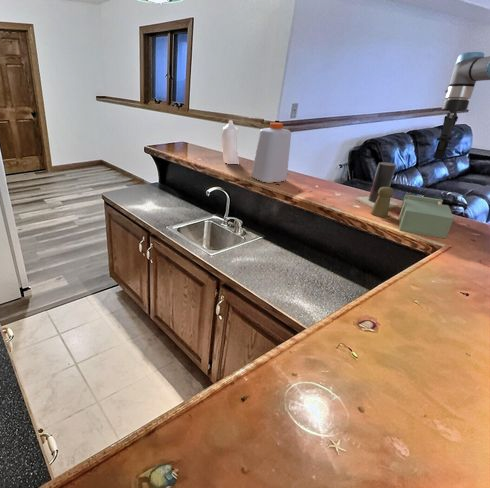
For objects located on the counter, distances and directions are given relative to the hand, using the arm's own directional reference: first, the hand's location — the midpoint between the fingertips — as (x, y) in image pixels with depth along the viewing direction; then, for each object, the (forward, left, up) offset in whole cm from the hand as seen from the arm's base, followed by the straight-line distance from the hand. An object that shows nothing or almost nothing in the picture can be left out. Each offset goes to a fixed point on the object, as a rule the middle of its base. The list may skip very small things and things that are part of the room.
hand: (438, 157), depth 137 cm
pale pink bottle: (+85, +55, -21) cm, 103 cm away
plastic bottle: (+49, +46, -21) cm, 70 cm away
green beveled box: (-18, +17, -21) cm, 33 cm away
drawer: (-9, +9, -20) cm, 23 cm away
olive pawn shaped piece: (-4, +23, -21) cm, 32 cm away
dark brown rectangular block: (+8, +15, -20) cm, 26 cm away
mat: (+8, +15, -21) cm, 27 cm away
